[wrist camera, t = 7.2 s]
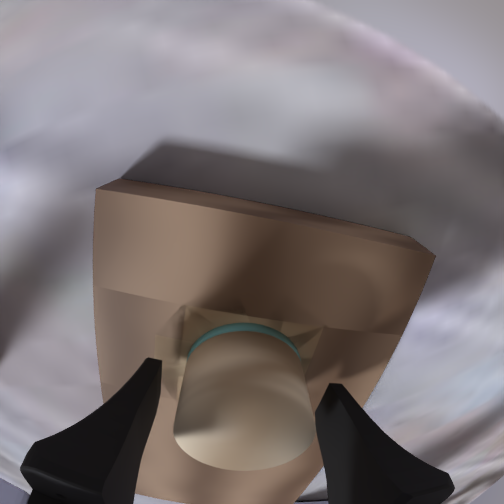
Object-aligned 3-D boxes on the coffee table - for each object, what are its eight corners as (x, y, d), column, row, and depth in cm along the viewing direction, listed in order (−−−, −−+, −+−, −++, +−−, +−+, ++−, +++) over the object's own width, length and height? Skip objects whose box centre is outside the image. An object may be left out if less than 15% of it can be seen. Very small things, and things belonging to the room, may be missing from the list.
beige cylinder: (305, 302, 16) (336, 398, 10) (279, 378, 17) (292, 473, 11) (199, 285, 15) (176, 380, 9) (188, 365, 17) (171, 461, 11)
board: (410, 236, 15) (436, 255, 12) (284, 488, 23) (287, 510, 21) (119, 178, 13) (95, 188, 11) (128, 467, 22) (122, 490, 19)
